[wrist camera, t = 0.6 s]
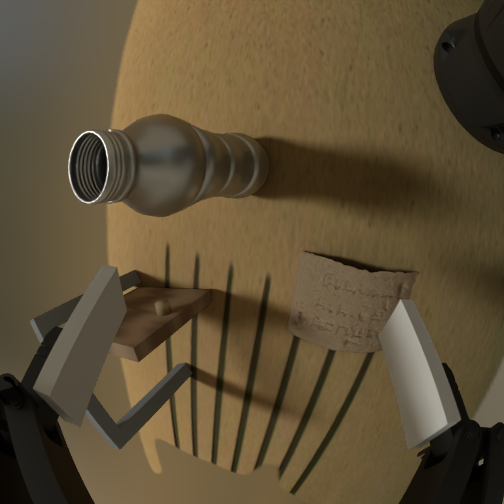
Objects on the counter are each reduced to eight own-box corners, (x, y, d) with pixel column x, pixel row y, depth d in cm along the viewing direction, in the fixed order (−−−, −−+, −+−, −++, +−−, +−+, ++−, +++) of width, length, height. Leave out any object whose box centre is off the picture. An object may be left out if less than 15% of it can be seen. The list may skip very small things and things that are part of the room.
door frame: (134, 269, 39) (33, 318, 23) (192, 372, 40) (119, 449, 24) (127, 274, 40) (29, 321, 24) (184, 374, 41) (112, 447, 25)
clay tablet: (422, 269, 26) (427, 277, 23) (397, 349, 29) (398, 362, 26) (292, 246, 30) (286, 252, 28) (282, 327, 33) (275, 338, 31)
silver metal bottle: (250, 123, 28) (98, 73, 10) (287, 174, 28) (157, 176, 10) (207, 160, 31) (45, 162, 13) (240, 208, 31) (87, 259, 13)
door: (137, 296, 39) (65, 337, 27) (133, 278, 39) (58, 317, 26) (212, 301, 34) (138, 362, 22) (208, 280, 34) (129, 335, 21)
